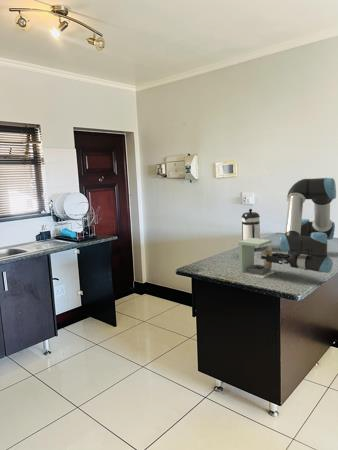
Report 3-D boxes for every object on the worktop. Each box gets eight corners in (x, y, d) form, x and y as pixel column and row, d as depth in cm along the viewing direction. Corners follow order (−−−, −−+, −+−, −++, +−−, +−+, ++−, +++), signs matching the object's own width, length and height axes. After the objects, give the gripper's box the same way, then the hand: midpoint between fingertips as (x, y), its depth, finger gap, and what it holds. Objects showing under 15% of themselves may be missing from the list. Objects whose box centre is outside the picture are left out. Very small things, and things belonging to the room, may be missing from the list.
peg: (271, 266, 192) (271, 246, 190) (271, 268, 188) (271, 248, 186) (264, 265, 193) (264, 246, 191) (264, 267, 189) (264, 248, 188)
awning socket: (274, 272, 194) (274, 240, 192) (262, 278, 185) (262, 244, 183) (251, 268, 205) (251, 237, 202) (239, 273, 196) (238, 241, 193)
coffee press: (265, 251, 245) (265, 209, 240) (242, 252, 245) (242, 210, 240) (259, 245, 262) (259, 206, 257) (238, 246, 262) (237, 207, 257)
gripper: (292, 272, 172) (251, 265, 188) (306, 264, 184) (266, 258, 200) (292, 257, 171) (250, 251, 187) (306, 250, 182) (266, 245, 199)
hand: (259, 255), depth 193 cm, fingers closed on peg, 4 cm apart
